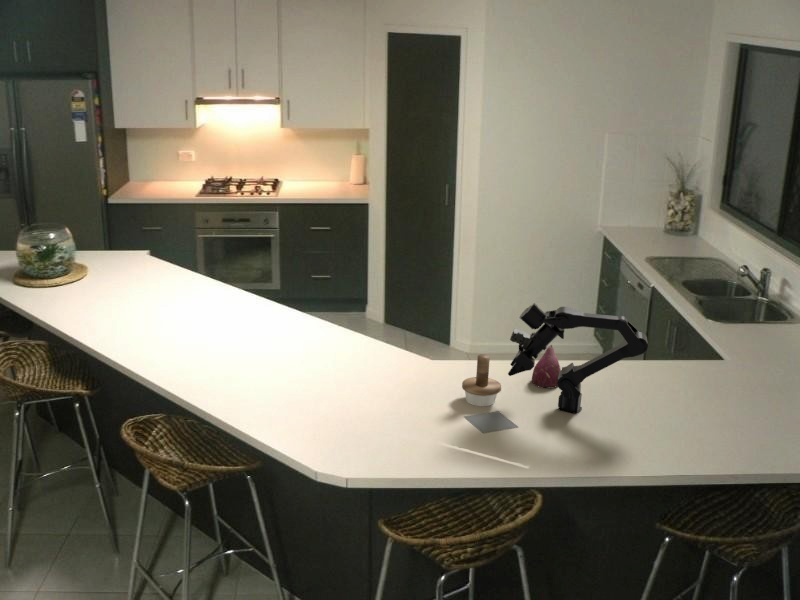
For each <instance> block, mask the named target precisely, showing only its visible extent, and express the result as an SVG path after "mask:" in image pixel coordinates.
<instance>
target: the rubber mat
mask: <svg viewBox="0 0 800 600" xmlns="http://www.w3.org/2000/svg"><path fill="white" fill-rule="evenodd" d="M463 418H464V419H465V420H467V422H469V423H470V424H471V425H473V427H475V428H476V429H477V430H478V431H479V432H480V433H481V434H487V433H494V432H499V431H500V432H501V431H505V430H511V429H518V428H519V425H517V424H516V423H514V422H513V421H512V420H511V419H509V418H508V417H507V416H505V415H504V414H503V413H502V412H501V411H500V410H496V411H490V412H483V413H478V414H477V413H476V414H471V415H466V416H463Z"/></svg>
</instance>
